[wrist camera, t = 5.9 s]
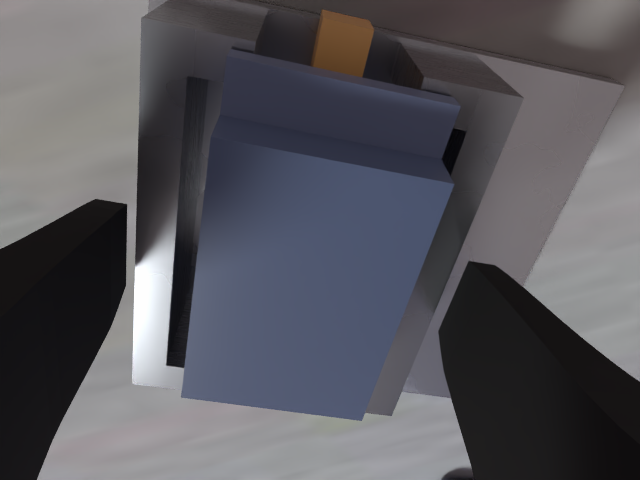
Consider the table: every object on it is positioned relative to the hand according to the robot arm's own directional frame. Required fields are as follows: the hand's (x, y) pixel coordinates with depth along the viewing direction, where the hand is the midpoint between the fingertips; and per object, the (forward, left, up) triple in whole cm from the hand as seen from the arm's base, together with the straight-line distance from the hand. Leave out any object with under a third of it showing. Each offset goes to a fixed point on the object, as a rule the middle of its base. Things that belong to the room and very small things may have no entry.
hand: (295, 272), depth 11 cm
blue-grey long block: (0, 0, -3) cm, 3 cm away
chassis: (-1, -1, -4) cm, 4 cm away
